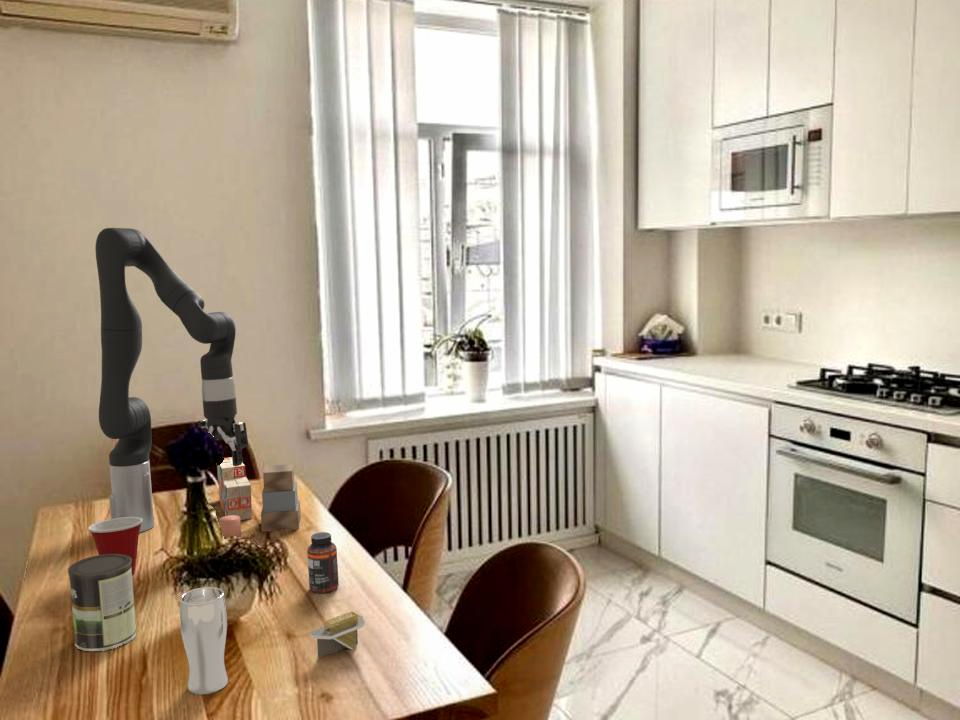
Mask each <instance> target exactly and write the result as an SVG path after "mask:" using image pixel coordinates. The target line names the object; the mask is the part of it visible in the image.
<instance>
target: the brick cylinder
mask: <svg viewBox="0 0 960 720" xmlns="http://www.w3.org/2000/svg"><path fill="white" fill-rule="evenodd" d="M218 523H219V527H220V526H221V529H222V532H223V536H224V539H227V538H228V537H229V536H231V535H234V536H236V537H241V538H242V527H241V520H240V516H237V515H229V516H226V515H225V516H222V517H220V518H219V520H218Z"/></svg>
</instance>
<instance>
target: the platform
mask: <svg viewBox="0 0 960 720" xmlns="http://www.w3.org/2000/svg"><path fill="white" fill-rule="evenodd" d="M348 614H349V615H350V616H346V615H348ZM363 627H365V620H364V618H363V616H361V615H360V614H358V613H356V612H355V611H353V610H351V611H348V612H345V613H343V614H340V615H337V616H335V617H332V618H330V619H329V618H328V619H326V620H324V621H323V626H322V627H318V628H316V629H314V630H311V631H310V632H309V637H311V638H312V639H315V640H316V642H317V643H316V645H317V659H318V658H319V659H320V657H321V658H323V657H322V656H324V657H327V656H328V654H329V655H330V654H331V655H332V654H333V652H334V653H337V652H338V651H341V650H344V649H346V648H348V649H350V650H351V651H352V649H353V650H356V649H357V648H356V647H357V644H358V643H359V642H358V641H359V640H358V630H359V629H362V628H363Z"/></svg>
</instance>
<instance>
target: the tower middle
mask: <svg viewBox="0 0 960 720" xmlns="http://www.w3.org/2000/svg"><path fill="white" fill-rule="evenodd" d="M294 482H295V481H294ZM261 499H262V500H261V501H262V503H261V504H262V508H263V513H265V512H279V511H294V510H296V507H297V503H298V500H299V498H298V482H295V483H294V488H293V491H279V492H264V488H263V489H262V491H261Z"/></svg>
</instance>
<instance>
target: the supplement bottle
mask: <svg viewBox="0 0 960 720" xmlns="http://www.w3.org/2000/svg"><path fill="white" fill-rule="evenodd" d="M310 539H311V540H310V542H311V544H310V545H309V546H308V547H307V549H306V550H307V551H306V553H307V569H308V570H307V571H308V585H309V590H310V591H311V592H313V593H315V594H316V593H318V594H325V593H326V594H327V593H330V592H333V591H335V590H336V589H337V588H338V587H339V567H338V553H337V549H338V548H337V545H336V544H335V543H334V542H333V541H332V534H331V533H330V532H326V531H325V532H324V531H323V532H321V531H320V532H316V533H313V534H312V535H311V537H310Z"/></svg>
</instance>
